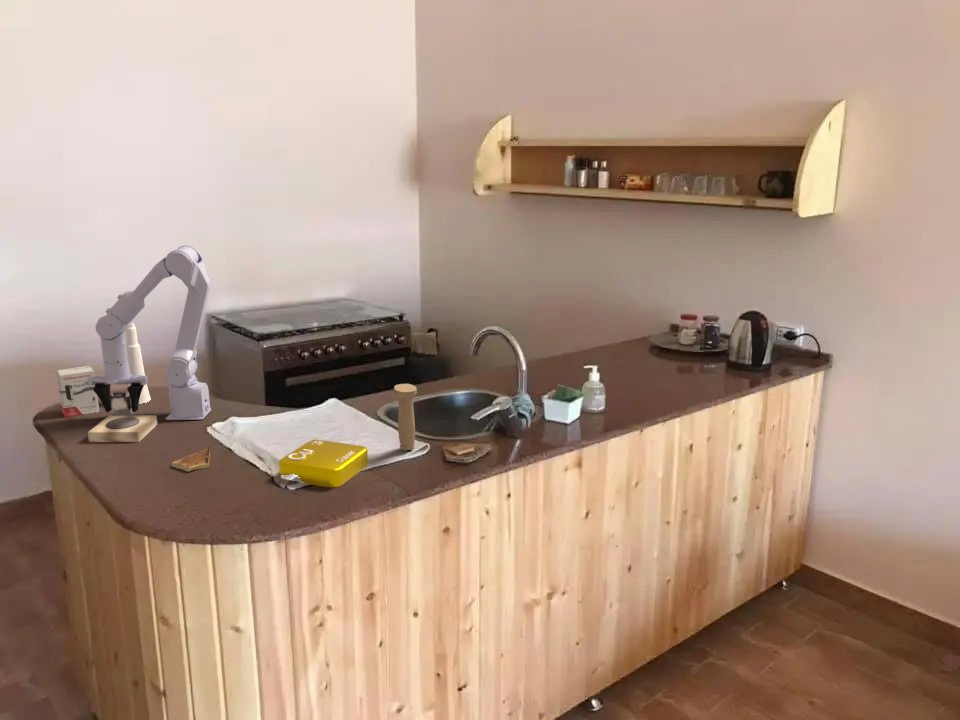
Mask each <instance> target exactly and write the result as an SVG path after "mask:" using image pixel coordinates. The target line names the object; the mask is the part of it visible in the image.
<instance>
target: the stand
mask: <svg viewBox="0 0 960 720" xmlns="http://www.w3.org/2000/svg"><path fill="white" fill-rule="evenodd" d="M157 417H158V416H157V415H153V414H152V415H133V416H112V415H107V417H105V418H104V419H103V420H101V421H100V422H99V423H97V425H95V426H93V428H91V429H90V430H89V431H87V439H88V443H140V442H141V440H143V439H144V438H145V437H146V436H147V435H148V434H149V433H150V432H151V431H152V430H153V429H155V428H156V425H157V426H158V418H157Z"/></svg>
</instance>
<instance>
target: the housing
mask: <svg viewBox="0 0 960 720" xmlns="http://www.w3.org/2000/svg"><path fill="white" fill-rule="evenodd" d="M110 403H111V416H134V412H132V408H131V399H130V395H129V393H128V392H127V391H126V390H116V391H113V393H112V395H110Z"/></svg>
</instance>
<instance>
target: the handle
mask: <svg viewBox="0 0 960 720" xmlns="http://www.w3.org/2000/svg"><path fill="white" fill-rule="evenodd" d="M393 390H394V391H393V393H394V396H395V397H397V398H398V413H397V414H398V417H397V428H398V430H397V431H398V440H399V449H400V448H401V449H404V450H412V451H413V449H414V447H415V438H416V424H415V422H416V421H415V411H414V409H415V408H414V397H415V396H417V393H418V392H417V386H416V385H414V384H411V383H399V384H396V385H394V387H393ZM401 449H400V450H401ZM404 450H403V451H404Z"/></svg>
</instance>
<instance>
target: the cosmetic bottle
mask: <svg viewBox="0 0 960 720" xmlns="http://www.w3.org/2000/svg"><path fill="white" fill-rule="evenodd" d="M137 332H138V331H137V327H136V326H135V322H130V323H129V324H128V325H127V327H126V330H125V331H124V334H125V342H126V350H127V358H128V366H129V374H132V375H141V376H146V374H145V367H144V362H143V357H142V356H143V355H142V350H141V345H140V343H139V342H138V340H139V339H138V333H137ZM129 386H131V384H127V388H128V387H129ZM127 393H129V392H128V391H127ZM150 395H151V394H150V392H149V388H148V383H147V384H146V385H144V387H143V389H142V392H141V395H140V398H139V405H144V404H143V403H145V404H147V402H148V403H149V401H150V400H151V401H152V399H151V398H152V397H151V396H150ZM151 401H150V402H151Z"/></svg>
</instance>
